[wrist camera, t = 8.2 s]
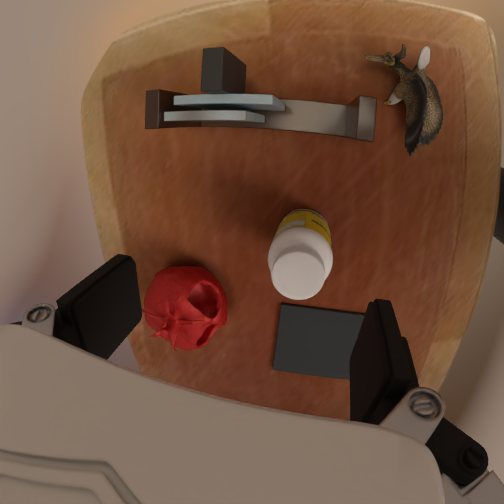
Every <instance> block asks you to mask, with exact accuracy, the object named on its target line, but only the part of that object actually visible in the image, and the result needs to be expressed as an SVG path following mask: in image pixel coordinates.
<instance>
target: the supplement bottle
mask: <svg viewBox="0 0 504 504" xmlns="http://www.w3.org/2000/svg"><path fill="white" fill-rule="evenodd" d="M332 264H333V253H332V244H331V235H330V229H329V226H328V223H327V222H326V220H325V219H324V218H323V217H322V216H321V215H320V214H319V213H317V212H315V211H313V210H309V209H298V210H295V211H292V212H290V213H289V214H287V215H286V216H285V217H284V218H283V219H282V221H281V222H280V224H279V227H278V229H277V232H276V234H275V236H274V239H273V241H272V244H271V246H270V249H269V253H268V265H269V268H270V271H271V278H272V282H273V285H274V286H275V288H276V289H277V290H278V292H280V293H281V294H282V295H284V296H286V297H288V298H291V299H295V300H302V299H307V298H310V297H312V296H314V295H315V294H317V293H318V292H319V291H320V289H321V288H322V286H323V284H324V281H325V279H326V278H327V276H328V275H329V273H330V271H331V268H332Z"/></svg>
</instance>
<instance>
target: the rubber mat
mask: <svg viewBox="0 0 504 504" xmlns="http://www.w3.org/2000/svg"><path fill="white" fill-rule="evenodd" d="M364 316H365V314H363V313H354V312H346V311H338V310H330V309H322V308H315V307H307V306H300V305H293V304H286V303H281V310H280V318H279V326H278V334H277V341H276V349H275V356H274V363H273V370H278V371H285V372H291V373H298V374H306V375H313V376H322V377H330V378H340V379H350V369H349V362H350V356H351V353H352V351H353V348H354V345H355V343H356V340H357V337H358V334H359V331H360V328H361V325H362V322H363V319H364Z"/></svg>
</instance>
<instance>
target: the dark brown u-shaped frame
mask: <svg viewBox="0 0 504 504" xmlns="http://www.w3.org/2000/svg"><path fill="white" fill-rule="evenodd" d="M181 95H187V94H182V93H177V92H172V91H166V90H160V89H158V90H149V91H146V110H145V129H159V128H177V127H244V128H264V129H278V130H290V131H301V132H311V133H319V134H328V135H335V136H342V137H348V138H352V139H356V140H362V141H368V142H373V141H374V132H375V121H376V107H377V98H374V97H368V96H363V95H359V96H358V97H357V98H355V99H354V100H353V101H352V102H351V103H349V104H348V105H340V104H333V103H325V102H316V101H306V100H294V99H280V98H278V99H279V100H280V101H281V102H283V103H284V104H285V111H270V110H247V109H204V108H197V107H188V106H179V105H174V96H181Z"/></svg>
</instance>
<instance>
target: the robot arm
mask: <svg viewBox="0 0 504 504" xmlns="http://www.w3.org/2000/svg"><path fill="white" fill-rule="evenodd" d="M56 302H57V305H58V309H56V310H55V308H54V306H53V305H51V304H48V303H41V304H36V305H34V306H32V307H30V308H29V309H28V310H27V311H26V312H25V314H24V316H23V320H22V321H21V322H16V323H11V324H2V325H0V504H504V485H503V483H502V482H501V481H500V479H499V478H498V476H497V475H496V474H495V472H494V471H493V470H492V471H491V472H489V471H488V470H487V466H488V456H487V453H486V451H485V449H484V448H483V447H482V446H481V445H480V444H479V443H477V442H476V441H475V440H473V439H472V438H471V437H469V436H468V435H466V434H465V433H464V432H463V431H461V430H460V429H458V428H457V427H456V426H454V425H453V424H452V423H450V422H449V421H448V420H446V419H445V418H444V417H443V416H444V413H445V403H444V400H443V399H442V397H441V396H440V395H439V394H438V393H437V392H436V391H434V390H432V389H430V388H426V387H419V384H418V379H417V375H416V372H415V368H414V364H413V360H412V356H411V353H410V349H409V346H408V342H407V340H406V338H405V337H401V334H400V330H399V327H398V323H397V320H396V317H395V313H394V310H393V307H392V304H391V301H389V300H383V299H375V300H374V302H369V304H368V307H367V310H366V313H365V316H364V319H363V322H362V325H361V328H360V331H359V334H358V337H357V340H356V343H355V345H354V348H353V351H352V353H351V356H350V362H349V369H350V421H349V420H342V419H336V418H328V417H320V416H313V415H307V414H301V413H295V412H289V411H284V410H278V409H272V408H267V407H262V406H257V405H252V404H248V403H243V402H239V401H235V400H230V399H226V398H222V397H218V396H215V395H211V394H207V393H203V392H200V391H196V390H193V389H189V388H186V387H182V386H179V385H176V384H173V383H169V382H166V381H163V380H160V379H157V378H154V377H151V376H148V375H145V374H143V373H140V372H137V371H134V370H132V369H129V368H126V367H124V366H121V365H118V364H116V363H113V362H111V361H108V360H107V359H108V358H109V357H110V356H111V355H112V353H113V352H114V351H115V350H116V349H117V347H118V346H119V345H120V344H121V343H122V342H123V340H124V339H125V338H126V337H127V336H128V334H129V333H130V332H131V331H132V330H133V329H134V328H135V326H136V325H137V324H138V323H139V322H140V320H141V318H142V309H141V302H140V295H139V288H138V280H137V272H136V264H135V261H134V260H133V259H132V257H131V256H127V255H122V254H118V255H116V256H115V257H113V258H112V259H110V260H109V261H108V262H106V263H105V264H104V265H102V266H101V267H99V268H98V269H97V270H95V271H94V272H93V273H91V274H90V275H89V276H87V277H86V278H85V279H84V280H82V281H81V282H80V283H78V284H77V285H76V286H74V287H73V288H72V289H70V290H69V291H68V292H67V293H65V294H64V295H63V296H62V297H60V298H59V299H58V300H57V301H56Z"/></svg>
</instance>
